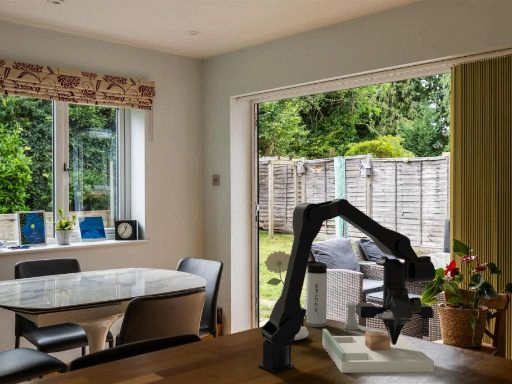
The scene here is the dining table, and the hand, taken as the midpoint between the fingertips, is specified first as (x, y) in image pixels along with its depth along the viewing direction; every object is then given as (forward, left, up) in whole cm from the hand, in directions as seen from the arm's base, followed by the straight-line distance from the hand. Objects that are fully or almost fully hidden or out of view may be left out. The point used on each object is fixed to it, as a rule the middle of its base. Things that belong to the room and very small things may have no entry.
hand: (393, 344), depth 140 cm
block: (-3, +3, -1) cm, 4 cm away
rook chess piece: (+17, +26, -4) cm, 31 cm away
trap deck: (-4, +3, -3) cm, 6 cm away
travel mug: (+12, +36, -4) cm, 38 cm away
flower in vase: (-7, +31, -4) cm, 32 cm away
